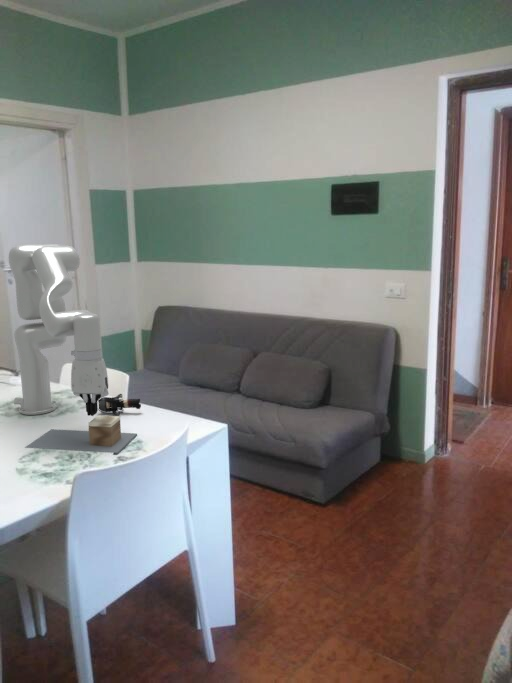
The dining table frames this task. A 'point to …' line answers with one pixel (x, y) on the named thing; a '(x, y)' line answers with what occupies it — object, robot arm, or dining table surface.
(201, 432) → the dining table surface
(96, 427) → the walnut cube
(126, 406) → the toy
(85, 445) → the slate mat
